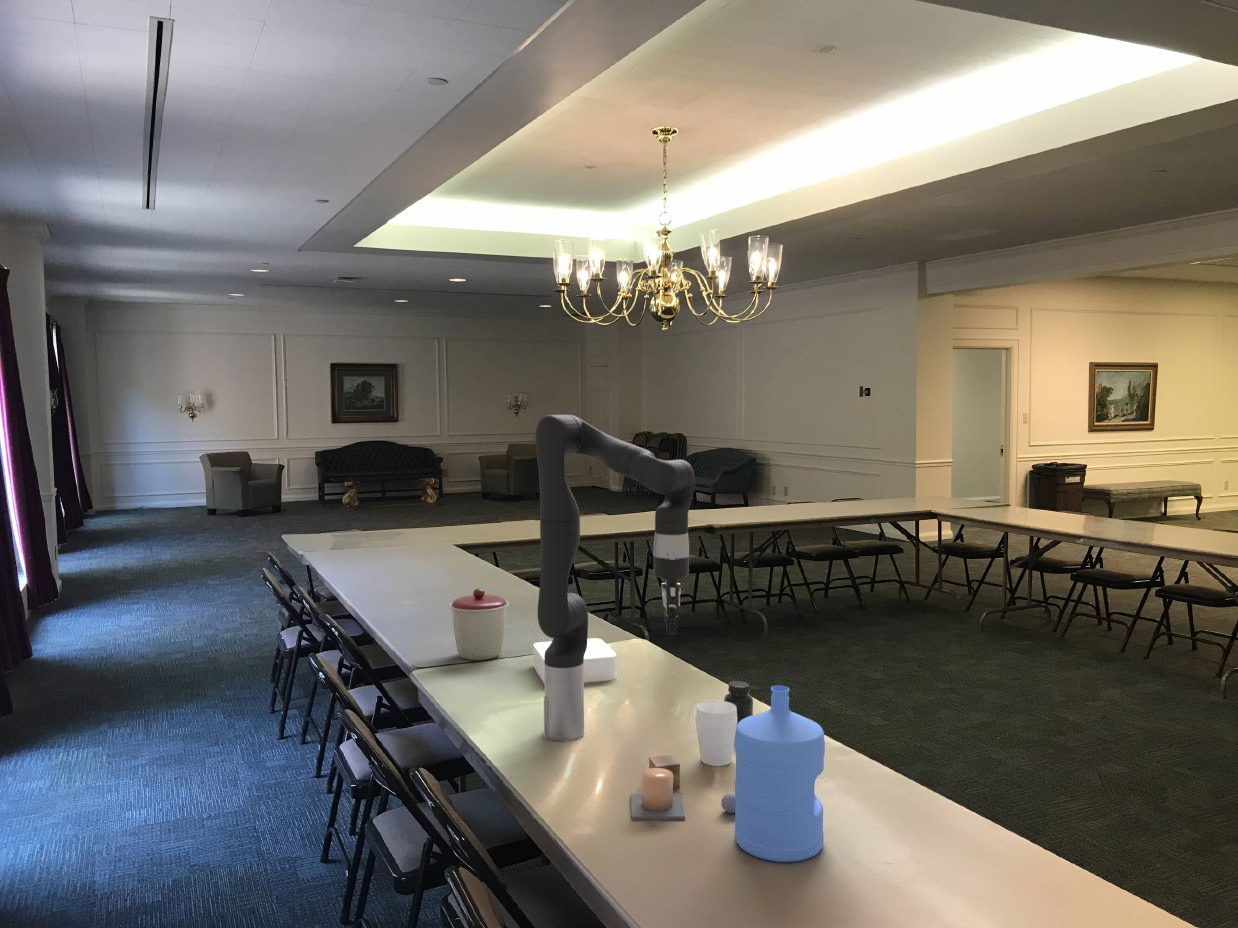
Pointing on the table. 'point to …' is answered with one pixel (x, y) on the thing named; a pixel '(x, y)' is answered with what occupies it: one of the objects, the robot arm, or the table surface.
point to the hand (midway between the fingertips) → (670, 628)
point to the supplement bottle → (740, 699)
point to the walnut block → (667, 766)
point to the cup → (716, 731)
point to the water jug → (778, 783)
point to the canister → (479, 625)
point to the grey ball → (729, 802)
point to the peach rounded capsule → (657, 789)
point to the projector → (585, 660)
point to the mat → (643, 814)
